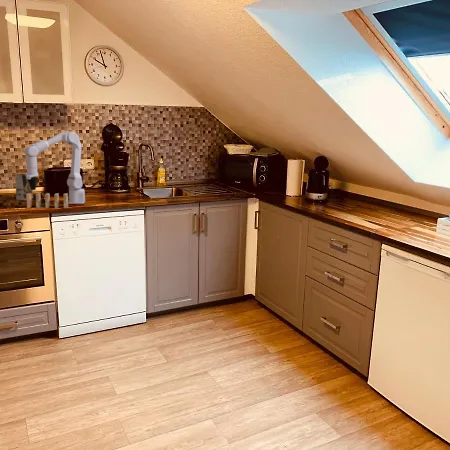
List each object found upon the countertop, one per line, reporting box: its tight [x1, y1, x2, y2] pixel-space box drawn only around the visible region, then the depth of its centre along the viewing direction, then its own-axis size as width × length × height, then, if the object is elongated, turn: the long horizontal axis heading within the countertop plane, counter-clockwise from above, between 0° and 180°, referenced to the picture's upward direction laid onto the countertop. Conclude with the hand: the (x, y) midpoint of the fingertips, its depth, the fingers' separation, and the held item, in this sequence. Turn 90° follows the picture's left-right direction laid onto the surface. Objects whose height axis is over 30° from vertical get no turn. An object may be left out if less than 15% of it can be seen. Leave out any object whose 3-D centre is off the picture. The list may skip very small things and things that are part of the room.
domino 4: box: [63, 192, 69, 209], centre depth 284 cm, size 2×5×8 cm, turn 10°
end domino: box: [26, 193, 33, 209], centre depth 281 cm, size 2×5×8 cm, turn 9°
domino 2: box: [44, 192, 51, 209], centre depth 283 cm, size 2×5×8 cm, turn 9°
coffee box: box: [14, 173, 34, 201], centre depth 304 cm, size 9×6×16 cm
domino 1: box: [35, 192, 42, 209], centre depth 282 cm, size 2×5×8 cm, turn 9°
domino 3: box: [53, 192, 60, 209], centre depth 284 cm, size 2×5×8 cm, turn 9°
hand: (33, 189), depth 280 cm, fingers closed
